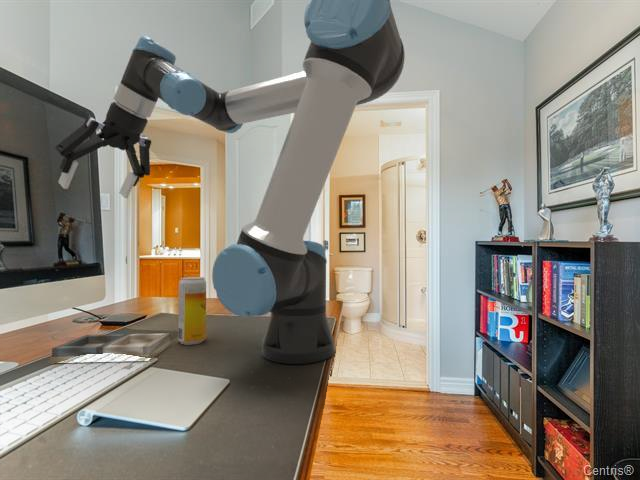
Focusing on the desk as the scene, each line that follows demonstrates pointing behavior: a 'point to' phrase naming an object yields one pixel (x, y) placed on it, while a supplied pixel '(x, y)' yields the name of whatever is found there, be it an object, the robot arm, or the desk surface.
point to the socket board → (112, 345)
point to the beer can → (192, 310)
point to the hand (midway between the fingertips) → (95, 191)
